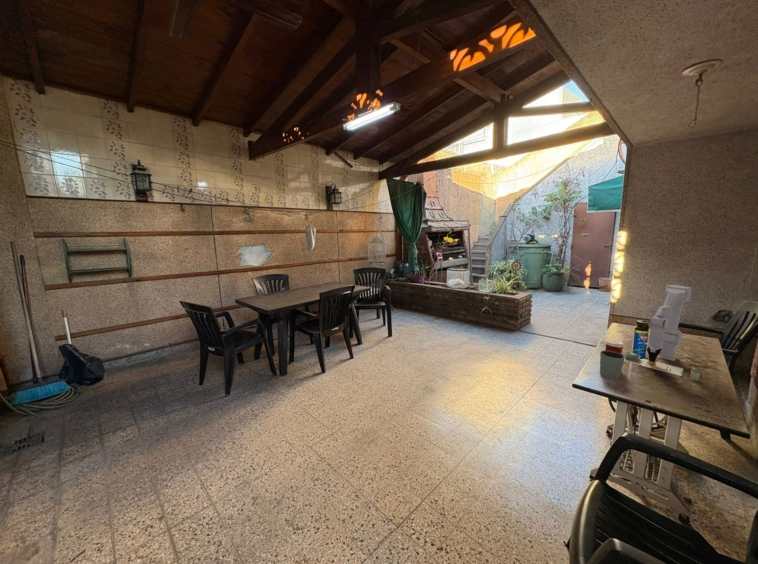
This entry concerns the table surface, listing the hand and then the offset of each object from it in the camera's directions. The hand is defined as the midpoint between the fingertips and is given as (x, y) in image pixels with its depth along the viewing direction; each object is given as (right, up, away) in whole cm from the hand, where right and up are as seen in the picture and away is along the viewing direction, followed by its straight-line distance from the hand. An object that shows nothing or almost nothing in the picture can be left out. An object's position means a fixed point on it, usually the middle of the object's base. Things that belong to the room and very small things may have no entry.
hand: (652, 360), depth 163 cm
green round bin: (-32, -6, -9) cm, 33 cm away
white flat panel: (+1, -3, +1) cm, 3 cm away
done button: (-5, 0, +7) cm, 8 cm away
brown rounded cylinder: (0, -2, 0) cm, 2 cm away
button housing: (-5, -1, +7) cm, 9 cm away
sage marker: (+7, -6, -15) cm, 18 cm away
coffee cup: (-24, -4, 0) cm, 24 cm away
